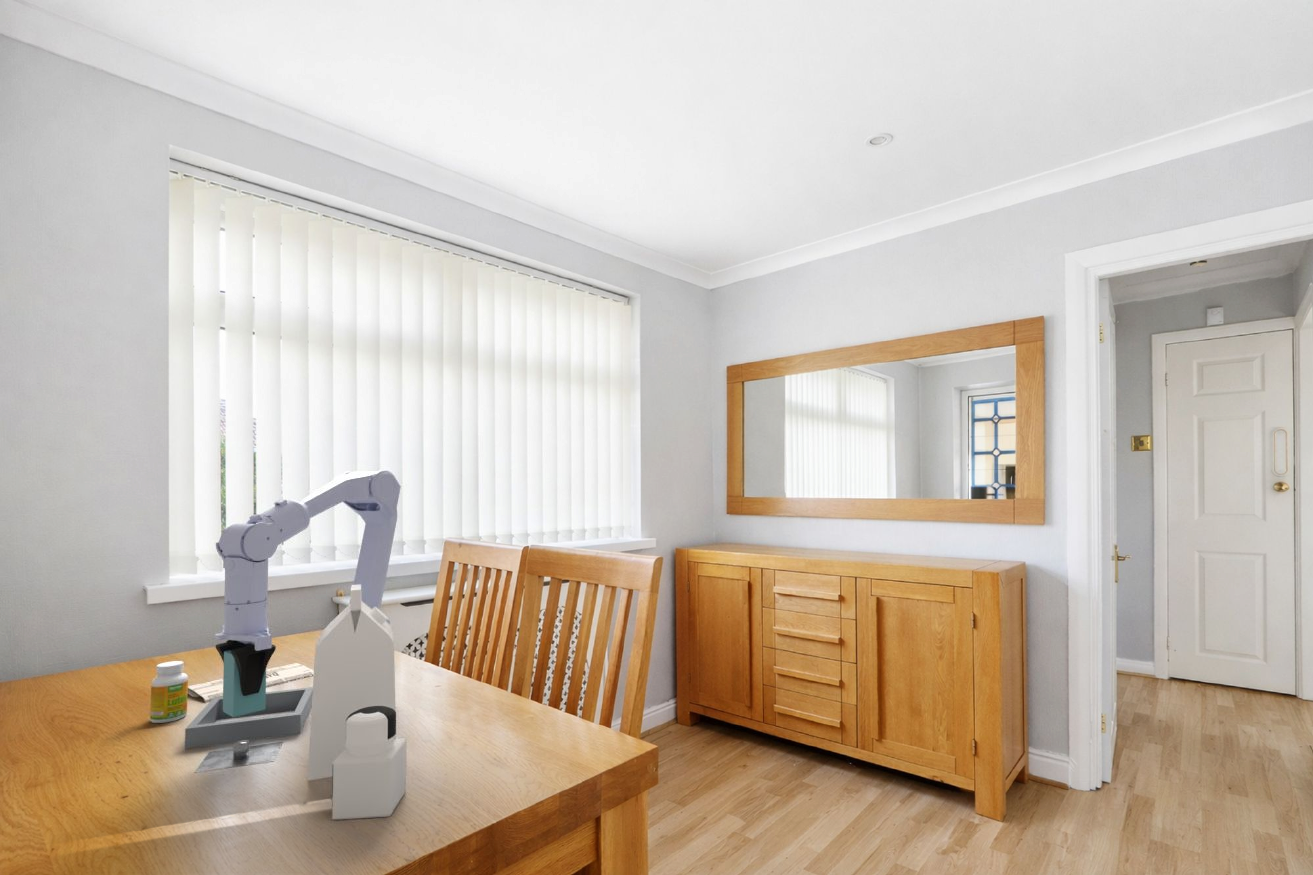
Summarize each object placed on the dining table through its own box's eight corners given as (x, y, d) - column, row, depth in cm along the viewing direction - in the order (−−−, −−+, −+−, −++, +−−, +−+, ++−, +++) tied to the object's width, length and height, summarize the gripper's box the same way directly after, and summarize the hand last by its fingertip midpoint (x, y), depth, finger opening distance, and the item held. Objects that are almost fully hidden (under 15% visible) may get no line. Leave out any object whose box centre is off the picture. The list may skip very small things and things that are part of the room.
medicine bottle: (352, 794, 89) (353, 702, 90) (406, 791, 90) (407, 700, 91) (330, 821, 82) (332, 721, 83) (390, 817, 83) (391, 718, 84)
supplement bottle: (167, 724, 117) (169, 668, 118) (142, 723, 118) (143, 667, 119) (194, 714, 122) (195, 660, 123) (169, 712, 123) (171, 659, 124)
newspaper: (289, 669, 154) (290, 658, 154) (316, 683, 147) (317, 672, 147) (174, 695, 135) (175, 682, 135) (199, 712, 128) (200, 699, 128)
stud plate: (283, 748, 106) (283, 728, 106) (273, 768, 98) (274, 747, 98) (209, 758, 102) (209, 738, 102) (193, 779, 95) (194, 758, 95)
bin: (313, 708, 124) (313, 686, 124) (300, 739, 109) (300, 714, 109) (212, 721, 118) (213, 698, 119) (184, 755, 103) (185, 728, 104)
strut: (254, 703, 105) (255, 645, 106) (265, 709, 102) (266, 649, 103) (222, 711, 102) (224, 651, 102) (233, 717, 99) (234, 655, 100)
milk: (313, 756, 102) (316, 584, 104) (394, 743, 107) (395, 579, 109) (307, 788, 91) (309, 596, 93) (397, 772, 96) (398, 589, 98)
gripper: (200, 600, 105) (198, 688, 104) (234, 610, 96) (232, 707, 95) (249, 593, 110) (248, 677, 109) (287, 602, 101) (285, 694, 100)
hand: (244, 690), depth 102 cm, fingers closed on strut, 4 cm apart
